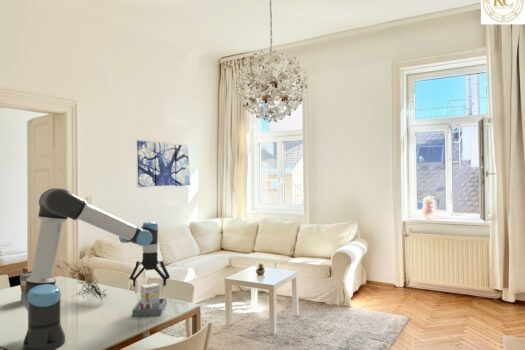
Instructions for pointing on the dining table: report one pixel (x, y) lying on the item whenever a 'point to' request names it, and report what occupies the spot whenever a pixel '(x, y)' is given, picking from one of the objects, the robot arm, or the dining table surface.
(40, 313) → the robot arm
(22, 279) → the reusable coffee cup
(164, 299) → the pin tray
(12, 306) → the dining table surface
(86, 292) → the dried plant
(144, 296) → the ink box
